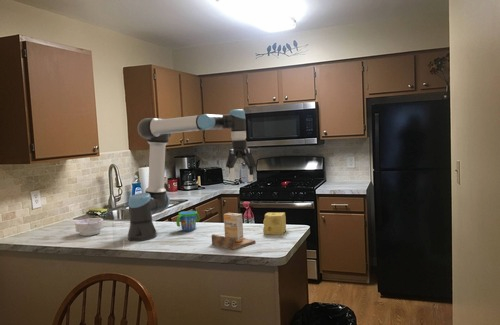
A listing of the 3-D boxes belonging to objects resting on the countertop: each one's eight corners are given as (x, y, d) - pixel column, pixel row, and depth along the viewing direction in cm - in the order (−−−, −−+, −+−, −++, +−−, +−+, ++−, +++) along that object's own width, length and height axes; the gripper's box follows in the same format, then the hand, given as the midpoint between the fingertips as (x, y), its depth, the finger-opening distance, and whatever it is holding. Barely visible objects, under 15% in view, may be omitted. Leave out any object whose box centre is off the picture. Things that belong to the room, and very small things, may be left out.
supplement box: (224, 240, 194) (222, 214, 193) (230, 238, 198) (228, 212, 197) (238, 242, 190) (236, 215, 189) (244, 239, 194) (242, 213, 193)
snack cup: (194, 226, 238) (193, 209, 237) (205, 228, 230) (204, 210, 230) (172, 231, 227) (170, 213, 226) (182, 234, 219) (181, 215, 219)
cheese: (263, 234, 208) (262, 215, 207) (268, 229, 218) (267, 211, 218) (282, 235, 205) (281, 216, 204) (287, 230, 215) (286, 211, 215)
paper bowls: (94, 237, 223) (93, 223, 223) (70, 237, 226) (69, 223, 226) (109, 230, 238) (108, 217, 238) (86, 230, 241) (85, 217, 241)
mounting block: (212, 244, 194) (211, 234, 194) (233, 238, 204) (232, 229, 204) (234, 249, 183) (233, 239, 183) (255, 242, 193) (254, 233, 192)
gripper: (261, 138, 199) (263, 180, 200) (228, 140, 217) (230, 179, 218) (250, 139, 193) (253, 182, 195) (217, 140, 211) (220, 180, 213)
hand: (241, 180), depth 206 cm, fingers open, 13 cm apart
